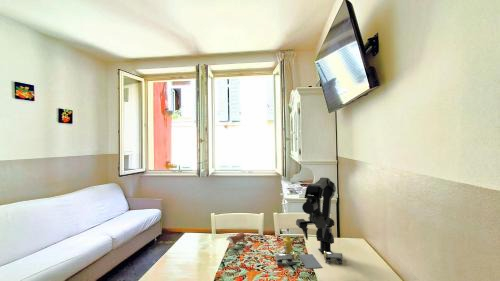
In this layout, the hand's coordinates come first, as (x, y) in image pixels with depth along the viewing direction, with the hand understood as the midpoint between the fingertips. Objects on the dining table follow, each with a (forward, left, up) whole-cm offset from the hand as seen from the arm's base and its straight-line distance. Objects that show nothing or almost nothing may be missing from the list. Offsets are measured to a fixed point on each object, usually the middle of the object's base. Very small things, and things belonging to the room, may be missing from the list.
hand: (315, 239), depth 121 cm
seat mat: (-4, -2, -13) cm, 14 cm away
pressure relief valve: (-12, -14, -13) cm, 22 cm away
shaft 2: (-2, +10, -13) cm, 17 cm away
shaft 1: (-4, -15, -13) cm, 20 cm away
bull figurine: (-27, -40, -13) cm, 50 cm away
